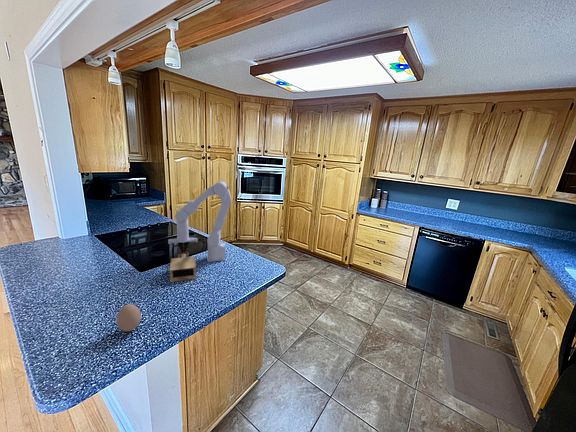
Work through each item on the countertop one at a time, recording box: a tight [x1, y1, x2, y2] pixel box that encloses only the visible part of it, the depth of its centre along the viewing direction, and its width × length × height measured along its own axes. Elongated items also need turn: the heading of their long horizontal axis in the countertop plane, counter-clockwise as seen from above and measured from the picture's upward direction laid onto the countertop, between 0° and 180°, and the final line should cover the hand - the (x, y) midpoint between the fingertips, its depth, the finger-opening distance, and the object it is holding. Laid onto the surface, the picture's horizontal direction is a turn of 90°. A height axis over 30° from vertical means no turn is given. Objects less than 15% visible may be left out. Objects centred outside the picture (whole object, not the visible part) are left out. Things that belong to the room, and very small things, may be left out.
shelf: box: [169, 256, 197, 283], centre depth 113 cm, size 11×12×6 cm
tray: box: [177, 251, 190, 272], centre depth 122 cm, size 5×13×4 cm, turn 23°
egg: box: [116, 303, 142, 332], centre depth 76 cm, size 7×7×9 cm
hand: (183, 254), depth 129 cm, fingers closed, pressing on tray
